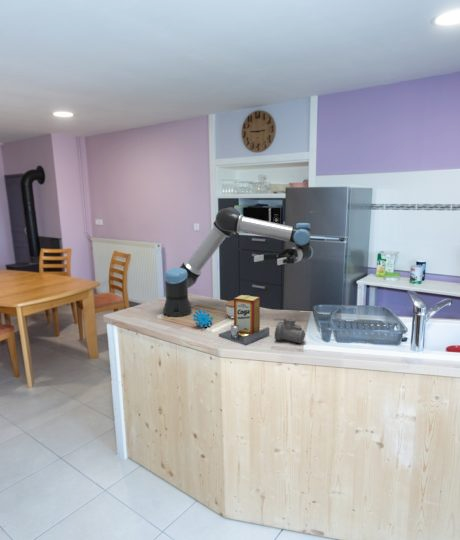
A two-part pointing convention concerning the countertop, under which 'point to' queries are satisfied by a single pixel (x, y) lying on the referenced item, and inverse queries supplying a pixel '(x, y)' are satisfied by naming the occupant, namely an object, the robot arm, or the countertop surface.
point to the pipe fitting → (289, 331)
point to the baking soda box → (247, 313)
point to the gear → (203, 318)
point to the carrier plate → (244, 335)
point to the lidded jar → (230, 308)
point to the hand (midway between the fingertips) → (265, 260)
